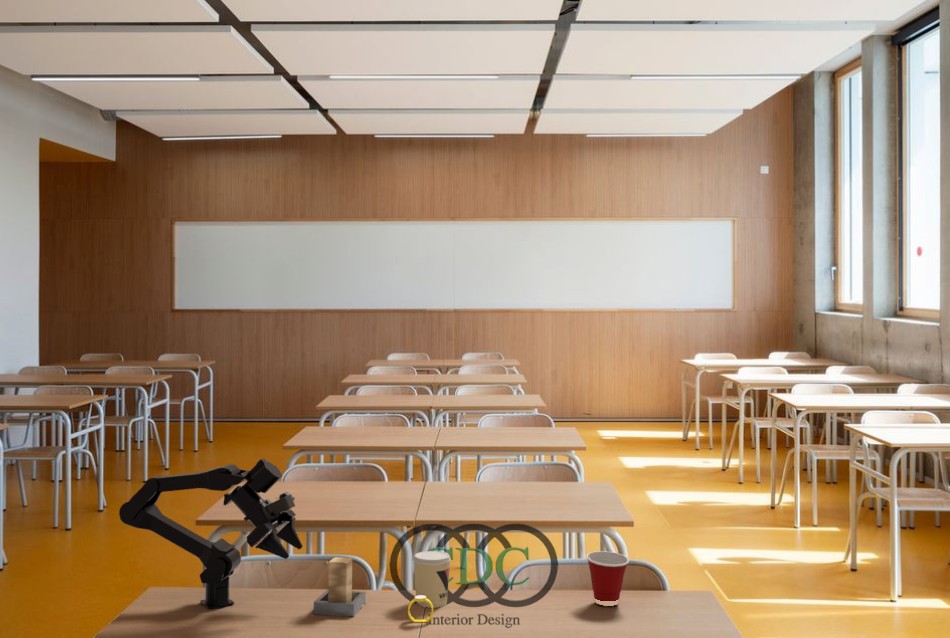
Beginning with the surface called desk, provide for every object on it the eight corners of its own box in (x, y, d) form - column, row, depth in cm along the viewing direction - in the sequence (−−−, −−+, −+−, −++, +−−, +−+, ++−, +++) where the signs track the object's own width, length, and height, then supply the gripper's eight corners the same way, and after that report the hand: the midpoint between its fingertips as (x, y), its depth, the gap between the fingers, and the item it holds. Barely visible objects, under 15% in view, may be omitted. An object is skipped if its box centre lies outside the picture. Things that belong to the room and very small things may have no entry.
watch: (408, 625, 204) (406, 599, 204) (408, 621, 207) (407, 596, 207) (433, 623, 205) (432, 597, 205) (433, 619, 207) (432, 594, 207)
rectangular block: (328, 611, 212) (328, 561, 213) (334, 605, 217) (334, 557, 217) (345, 612, 212) (346, 562, 212) (351, 606, 216) (352, 558, 216)
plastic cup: (605, 613, 213) (605, 564, 214) (576, 601, 222) (577, 554, 223) (638, 606, 219) (638, 558, 219) (608, 594, 228) (609, 548, 229)
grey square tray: (313, 614, 210) (313, 601, 210) (327, 601, 220) (327, 589, 220) (353, 616, 209) (354, 604, 209) (365, 603, 218) (365, 591, 219)
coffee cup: (445, 610, 214) (445, 561, 214) (408, 607, 216) (409, 558, 216) (453, 598, 223) (454, 551, 224) (418, 596, 225) (419, 549, 226)
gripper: (259, 490, 206) (303, 539, 205) (288, 477, 225) (329, 522, 223) (227, 522, 208) (271, 571, 206) (259, 506, 226) (299, 551, 224)
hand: (294, 552), depth 215 cm, fingers open, 9 cm apart
